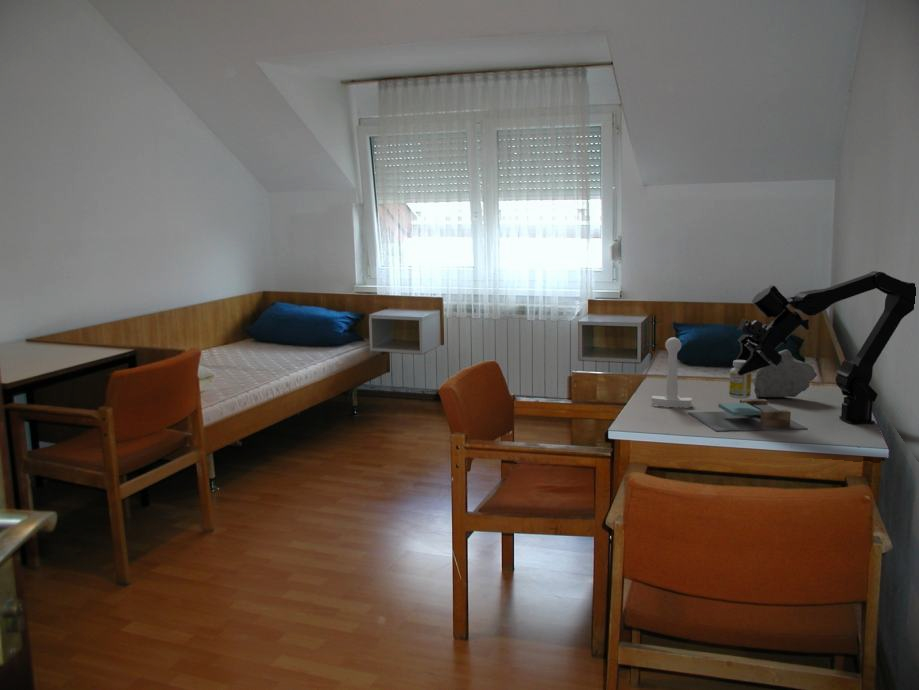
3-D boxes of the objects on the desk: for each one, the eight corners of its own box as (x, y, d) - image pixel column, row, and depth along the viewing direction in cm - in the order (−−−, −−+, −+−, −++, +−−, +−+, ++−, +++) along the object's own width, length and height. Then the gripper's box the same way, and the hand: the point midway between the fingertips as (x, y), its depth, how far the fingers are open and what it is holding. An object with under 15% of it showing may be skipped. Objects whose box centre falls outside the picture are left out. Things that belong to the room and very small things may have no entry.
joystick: (650, 406, 232) (652, 337, 229) (653, 400, 239) (655, 334, 236) (690, 408, 228) (693, 339, 225) (692, 403, 235) (694, 335, 232)
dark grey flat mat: (772, 411, 224) (773, 397, 224) (807, 429, 205) (808, 413, 204) (688, 413, 223) (688, 398, 222) (715, 431, 203) (716, 415, 203)
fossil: (814, 398, 241) (817, 348, 239) (815, 402, 235) (818, 352, 233) (753, 394, 247) (755, 346, 245) (752, 398, 241) (755, 349, 239)
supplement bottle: (734, 399, 210) (735, 363, 208) (725, 395, 215) (726, 359, 214) (754, 398, 210) (755, 362, 209) (744, 394, 216) (746, 359, 214)
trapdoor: (766, 411, 219) (766, 402, 219) (783, 420, 209) (784, 410, 209) (717, 412, 218) (718, 403, 218) (733, 421, 208) (733, 412, 208)
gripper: (746, 305, 218) (704, 345, 220) (770, 312, 200) (724, 356, 202) (774, 333, 219) (732, 373, 221) (801, 343, 201) (755, 387, 203)
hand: (735, 372), depth 212 cm, fingers closed on supplement bottle, 5 cm apart
